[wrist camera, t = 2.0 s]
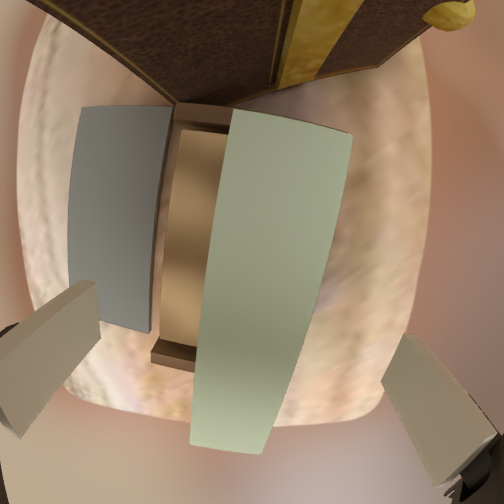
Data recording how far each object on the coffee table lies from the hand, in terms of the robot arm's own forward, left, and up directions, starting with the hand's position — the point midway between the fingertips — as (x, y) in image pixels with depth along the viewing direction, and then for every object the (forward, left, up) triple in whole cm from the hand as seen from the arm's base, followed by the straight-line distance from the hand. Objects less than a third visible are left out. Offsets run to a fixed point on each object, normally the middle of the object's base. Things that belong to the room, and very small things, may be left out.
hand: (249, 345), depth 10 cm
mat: (0, -14, -15) cm, 20 cm away
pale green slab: (0, 0, -15) cm, 15 cm away
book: (-18, 0, -15) cm, 24 cm away
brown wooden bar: (0, -5, -15) cm, 16 cm away
